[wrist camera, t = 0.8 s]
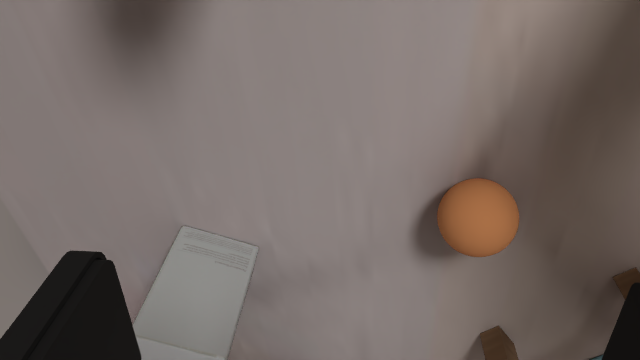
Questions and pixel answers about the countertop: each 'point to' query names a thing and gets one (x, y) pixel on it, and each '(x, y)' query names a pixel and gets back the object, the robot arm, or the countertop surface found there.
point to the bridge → (502, 348)
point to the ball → (478, 217)
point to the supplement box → (196, 298)
